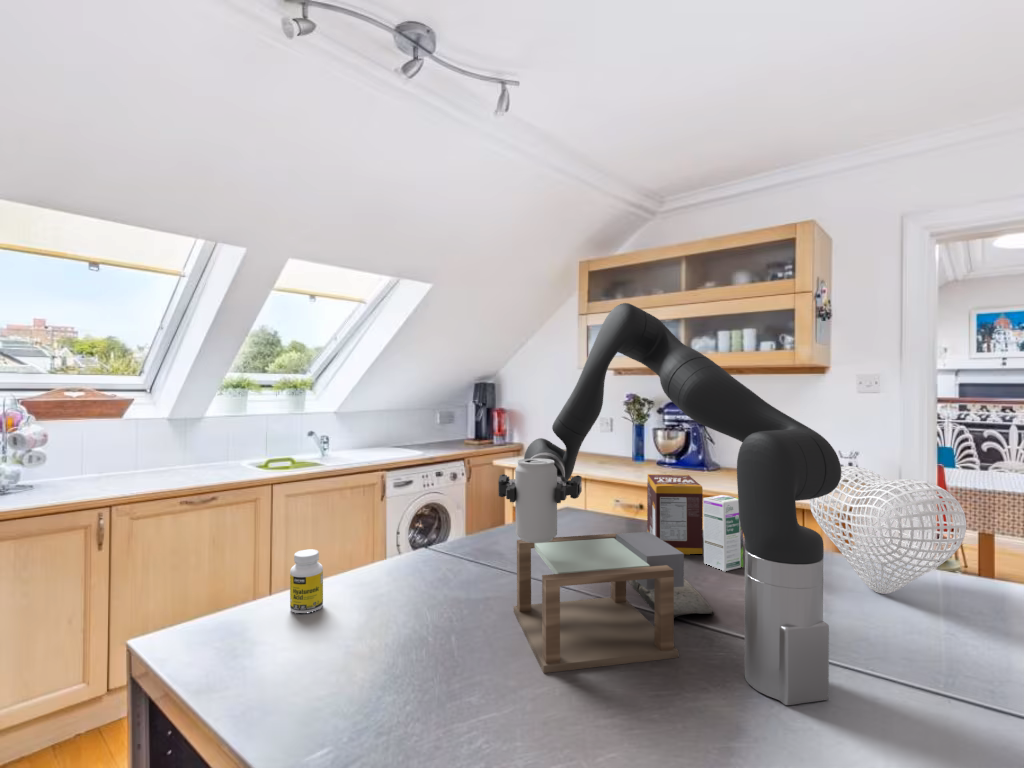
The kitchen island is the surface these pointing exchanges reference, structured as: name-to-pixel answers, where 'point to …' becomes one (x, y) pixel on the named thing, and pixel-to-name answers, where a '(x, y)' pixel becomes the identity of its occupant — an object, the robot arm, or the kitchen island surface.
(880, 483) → the heart
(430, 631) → the kitchen island surface
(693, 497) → the supplement box
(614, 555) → the trapdoor plate
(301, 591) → the supplement bottle
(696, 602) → the stone slab
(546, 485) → the beverage can
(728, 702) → the kitchen island surface
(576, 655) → the wooden rack
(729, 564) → the syrup box
